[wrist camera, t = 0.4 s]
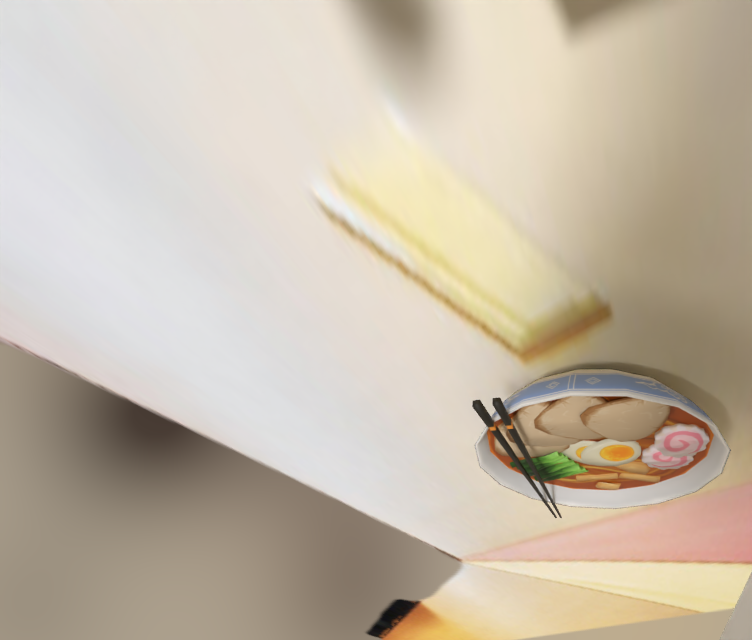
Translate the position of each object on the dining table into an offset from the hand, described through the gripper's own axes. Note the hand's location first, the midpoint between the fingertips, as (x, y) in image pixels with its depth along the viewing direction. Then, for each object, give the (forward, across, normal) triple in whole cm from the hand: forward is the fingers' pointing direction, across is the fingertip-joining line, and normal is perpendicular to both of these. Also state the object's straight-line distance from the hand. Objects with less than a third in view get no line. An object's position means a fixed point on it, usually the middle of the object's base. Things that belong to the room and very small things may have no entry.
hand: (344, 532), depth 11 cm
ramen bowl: (+52, +19, -21) cm, 59 cm away
